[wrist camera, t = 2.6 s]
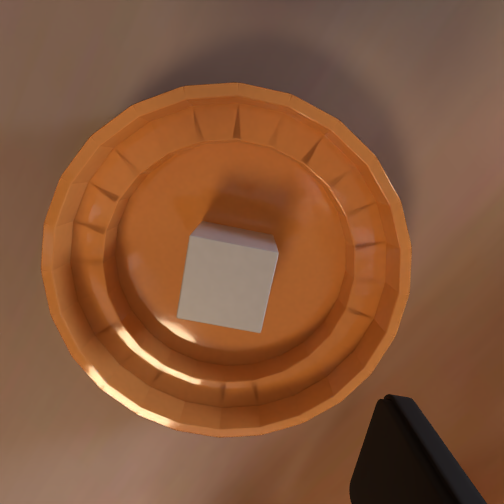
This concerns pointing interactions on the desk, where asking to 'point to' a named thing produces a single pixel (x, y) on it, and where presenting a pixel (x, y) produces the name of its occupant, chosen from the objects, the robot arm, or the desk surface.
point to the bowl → (234, 215)
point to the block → (227, 277)
